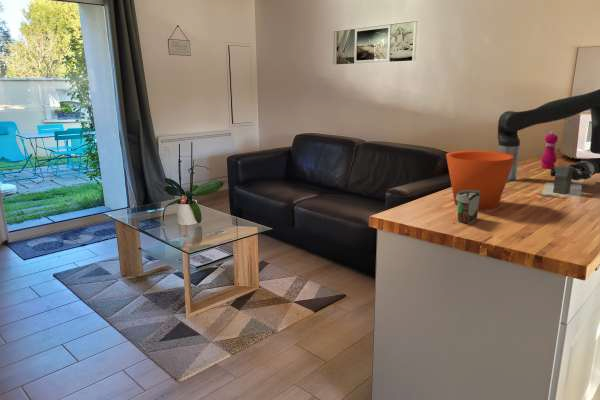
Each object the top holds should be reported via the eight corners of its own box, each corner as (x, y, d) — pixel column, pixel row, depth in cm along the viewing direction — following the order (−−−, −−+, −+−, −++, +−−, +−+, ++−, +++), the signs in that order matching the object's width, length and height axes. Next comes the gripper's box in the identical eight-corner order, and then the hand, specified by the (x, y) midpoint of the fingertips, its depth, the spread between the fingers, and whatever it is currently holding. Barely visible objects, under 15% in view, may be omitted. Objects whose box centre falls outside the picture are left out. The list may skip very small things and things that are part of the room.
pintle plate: (580, 200, 177) (581, 190, 176) (540, 196, 185) (542, 186, 184) (581, 187, 197) (582, 178, 196) (546, 184, 204) (547, 175, 203)
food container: (461, 214, 163) (463, 188, 161) (478, 217, 160) (480, 190, 157) (448, 222, 154) (450, 195, 152) (466, 226, 150) (468, 197, 148)
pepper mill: (537, 167, 243) (541, 131, 238) (546, 166, 246) (550, 130, 241) (549, 169, 237) (554, 132, 232) (558, 168, 240) (563, 131, 235)
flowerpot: (489, 217, 159) (494, 163, 154) (430, 204, 178) (433, 155, 173) (521, 204, 174) (527, 154, 169) (464, 193, 193) (467, 148, 188)
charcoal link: (564, 194, 182) (567, 168, 179) (552, 192, 185) (556, 166, 183) (569, 192, 184) (573, 167, 182) (558, 190, 188) (561, 165, 185)
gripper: (564, 159, 196) (546, 164, 187) (600, 164, 185) (582, 169, 176) (562, 176, 198) (544, 181, 189) (597, 181, 187) (579, 187, 178)
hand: (562, 175), depth 182 cm, fingers open, 8 cm apart
